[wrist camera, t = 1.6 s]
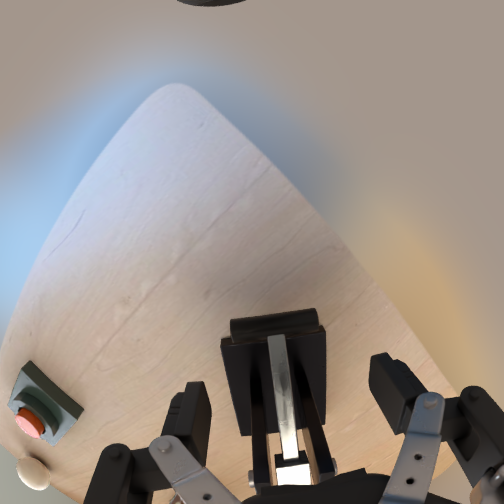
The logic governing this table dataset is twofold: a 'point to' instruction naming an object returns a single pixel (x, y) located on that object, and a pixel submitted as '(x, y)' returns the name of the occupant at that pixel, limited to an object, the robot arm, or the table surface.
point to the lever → (281, 382)
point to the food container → (176, 500)
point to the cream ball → (33, 473)
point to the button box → (44, 403)
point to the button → (29, 423)
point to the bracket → (264, 406)
